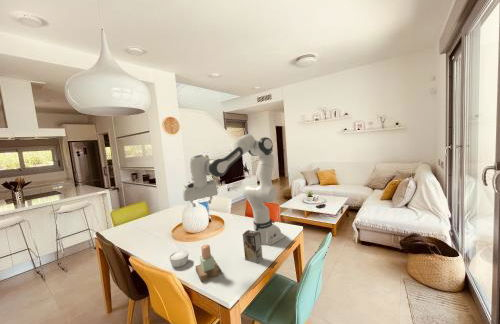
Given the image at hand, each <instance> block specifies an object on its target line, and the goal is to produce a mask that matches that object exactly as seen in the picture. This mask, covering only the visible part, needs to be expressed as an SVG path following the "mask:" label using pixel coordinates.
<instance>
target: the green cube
mask: <svg viewBox="0 0 500 324" xmlns="http://www.w3.org/2000/svg"><path fill="white" fill-rule="evenodd" d="M199 259H200V264H201V267H202V269H203V271H204V272H206V271H209V270H211V269H214V268H215V265H214V260H215V258H214V256H213V255H212V253H211V258H209V259H207V260H204V259H203V258H202V255H200V256H199Z"/></svg>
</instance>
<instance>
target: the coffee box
mask: <svg viewBox="0 0 500 324" xmlns="http://www.w3.org/2000/svg"><path fill="white" fill-rule="evenodd" d="M242 241H243V242H242V243H243V249H244V251H243V252H244V259H245V261H249V262H252V263H255V264H258V263H260V262H261V261H262V260H263V258H264V257H263V249H262V248H263V247H262V244H261V236H260V232H255V231H254V230H249V229H248V230H246V231H244V233H242Z"/></svg>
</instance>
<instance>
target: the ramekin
mask: <svg viewBox="0 0 500 324" xmlns="http://www.w3.org/2000/svg"><path fill="white" fill-rule="evenodd" d="M168 259H169V262H170V264H171V265H170V266H172V267H174V268H179V267H180V268H181V267H183V266H185V265H186V264H187V263H188V261H189V251H188V250H184V249H182V250H177V251H174V252H172V253H171V254H170V255H169V257H168Z"/></svg>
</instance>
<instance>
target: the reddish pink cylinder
mask: <svg viewBox="0 0 500 324" xmlns="http://www.w3.org/2000/svg"><path fill="white" fill-rule="evenodd" d="M210 246H211V245H210V244H204V245H202V246H201V247H200V248H201V249H200V250H201V256H202V258H203V259H204V260H207V259H209V258H211V254H212V253H211V252H212V251H211V247H210Z"/></svg>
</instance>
